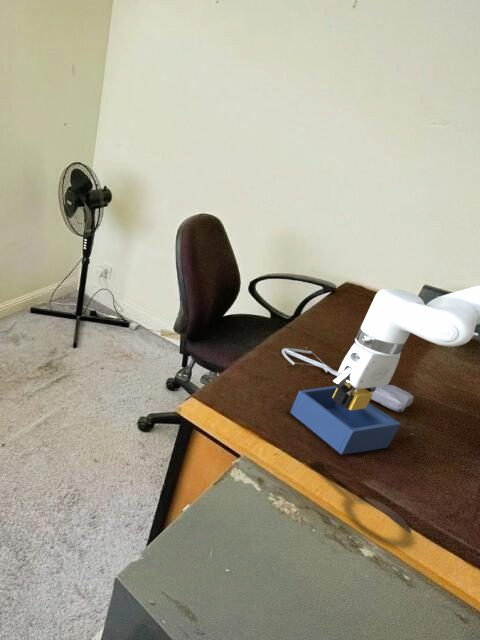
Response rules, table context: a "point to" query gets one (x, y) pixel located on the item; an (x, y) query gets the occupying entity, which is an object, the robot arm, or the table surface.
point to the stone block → (392, 397)
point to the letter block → (358, 398)
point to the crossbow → (306, 359)
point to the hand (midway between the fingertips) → (349, 402)
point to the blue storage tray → (344, 422)
